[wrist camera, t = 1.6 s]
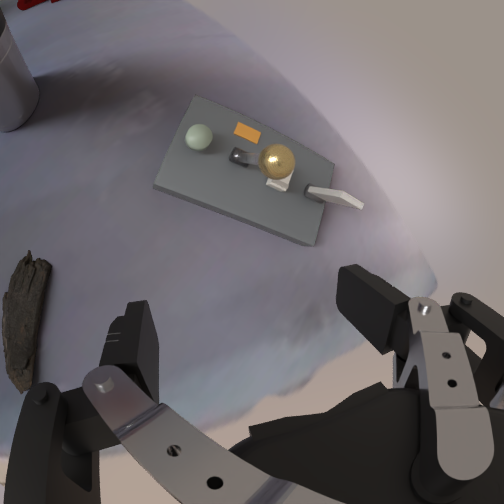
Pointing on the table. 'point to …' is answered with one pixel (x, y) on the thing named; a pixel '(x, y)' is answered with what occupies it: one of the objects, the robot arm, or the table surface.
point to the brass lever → (267, 160)
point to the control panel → (243, 174)
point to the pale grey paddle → (331, 196)
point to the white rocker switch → (279, 183)
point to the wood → (23, 318)
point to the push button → (198, 137)
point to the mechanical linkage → (30, 3)
